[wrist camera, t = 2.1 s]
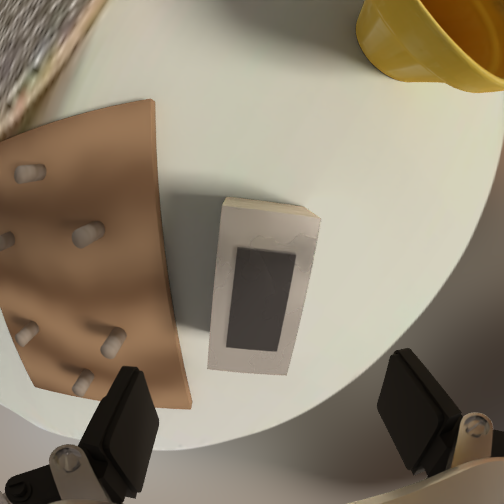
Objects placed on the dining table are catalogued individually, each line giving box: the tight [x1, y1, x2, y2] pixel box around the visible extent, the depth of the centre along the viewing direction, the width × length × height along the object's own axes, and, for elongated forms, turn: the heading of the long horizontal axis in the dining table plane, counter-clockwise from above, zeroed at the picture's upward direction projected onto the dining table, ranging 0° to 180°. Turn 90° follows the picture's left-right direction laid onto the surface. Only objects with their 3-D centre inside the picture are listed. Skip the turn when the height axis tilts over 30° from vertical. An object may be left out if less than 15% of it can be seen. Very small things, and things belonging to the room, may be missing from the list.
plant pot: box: [356, 0, 504, 93], centre depth 10 cm, size 10×10×10 cm
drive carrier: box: [207, 197, 321, 375], centre depth 18 cm, size 10×5×5 cm, turn 173°
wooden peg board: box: [0, 99, 192, 409], centre depth 18 cm, size 24×18×4 cm
